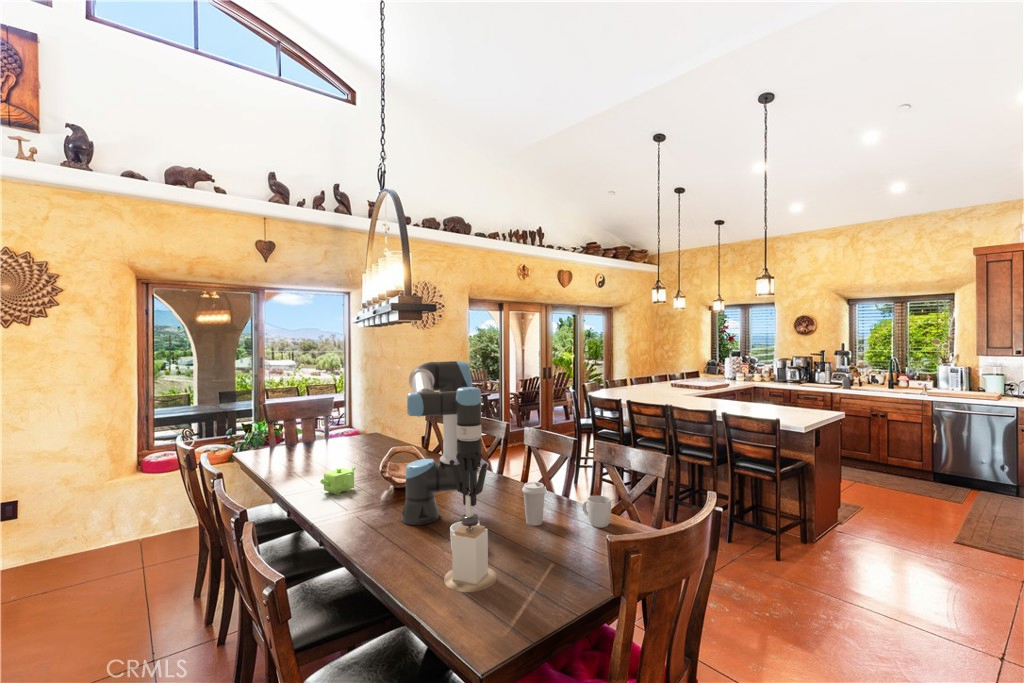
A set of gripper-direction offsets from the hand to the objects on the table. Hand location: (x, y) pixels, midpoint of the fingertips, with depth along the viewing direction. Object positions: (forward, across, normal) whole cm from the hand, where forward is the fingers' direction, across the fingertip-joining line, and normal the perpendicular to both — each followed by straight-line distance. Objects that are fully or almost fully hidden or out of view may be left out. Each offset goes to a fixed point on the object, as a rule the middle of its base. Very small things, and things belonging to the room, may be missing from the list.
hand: (469, 515), depth 142 cm
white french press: (+19, 0, 0) cm, 19 cm away
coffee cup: (+20, +3, +49) cm, 53 cm away
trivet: (+20, 0, 0) cm, 20 cm away
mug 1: (+20, -11, +19) cm, 30 cm away
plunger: (+16, 0, 0) cm, 16 cm away
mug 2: (+20, +26, +57) cm, 66 cm away
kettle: (+20, -97, +50) cm, 111 cm away
